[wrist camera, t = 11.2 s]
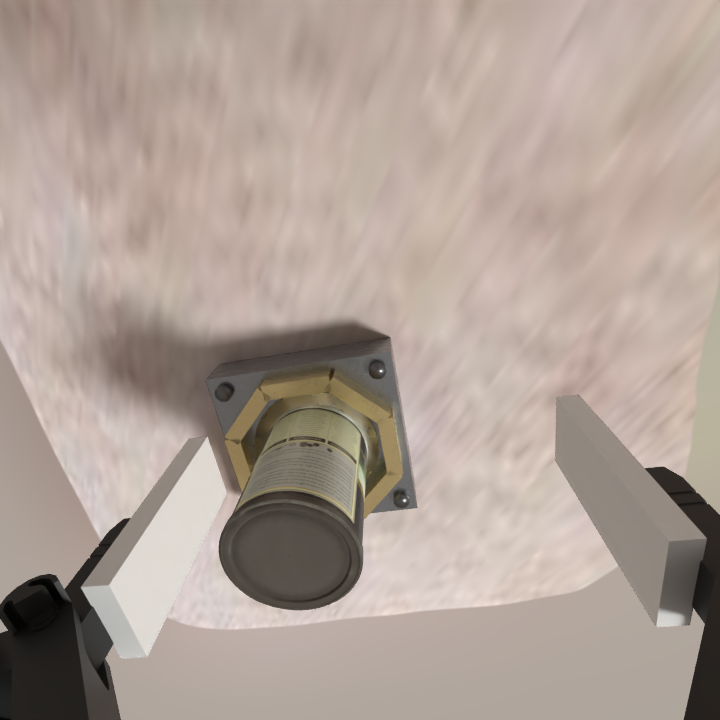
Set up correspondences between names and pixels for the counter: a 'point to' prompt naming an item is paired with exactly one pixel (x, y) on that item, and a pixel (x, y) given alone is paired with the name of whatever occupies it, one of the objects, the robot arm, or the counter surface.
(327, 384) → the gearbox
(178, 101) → the counter surface
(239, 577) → the coffee can
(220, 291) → the counter surface
